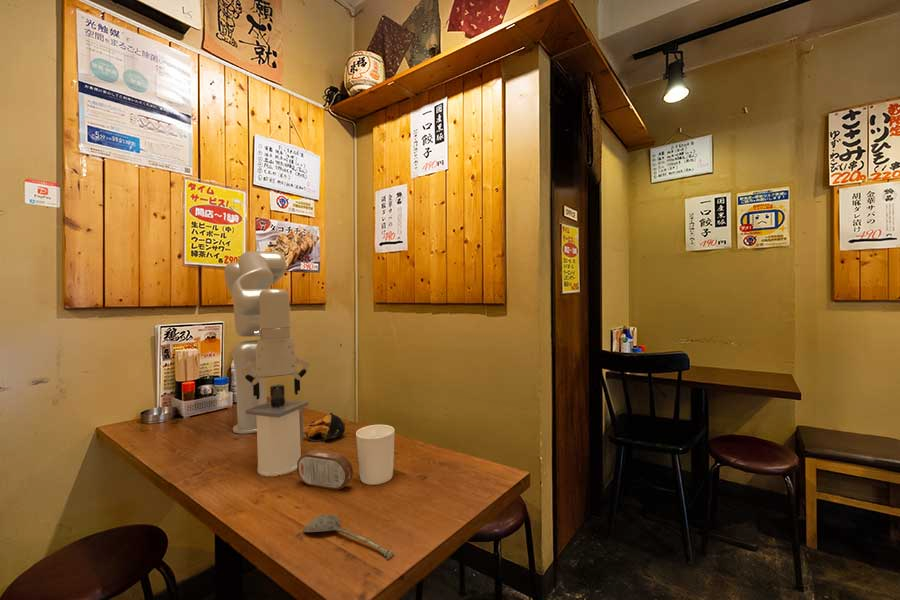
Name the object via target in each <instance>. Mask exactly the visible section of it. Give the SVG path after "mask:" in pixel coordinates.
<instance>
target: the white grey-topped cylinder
mask: <svg viewBox="0 0 900 600" xmlns="http://www.w3.org/2000/svg"><path fill="white" fill-rule="evenodd" d="M308 406H309V401H304V400H303V401H302V400H291V399H285V404H283V405H280V407H279V408H276V406H271V401H269V402H267V403H265V404H262V405H259V406H256V407H254V408H251V409H248V410H246V414H251V415H256V419H257V432H256V440H257V441H256V443H257V446H256V447H257V474H259V476H261V477H269V476H270V477H278V475H280V476H283V474H284V475H287V474H290V473H292V472H294V471H296V470H298V469H297V462H298V460H299V458H300V457H301V456H302V453H301V442H303V441H304V433H303V427H304V422H303V420H304V419H303V408H306V407H308Z"/></svg>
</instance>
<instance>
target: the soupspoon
mask: <svg viewBox="0 0 900 600" xmlns="http://www.w3.org/2000/svg"><path fill="white" fill-rule="evenodd" d="M340 524H341V523H340V518H339V516H338V515H336V514H332V513H327V514H322V515H319V516H317V517H315V518H313V519H312V520H310V521H309V522H308V523H307V524H306V525H305V526H304V527H303V529H302V533H319V532H332V531H335V532H338V533H342V534H345V535H346V536H347V535H348V536H350V537H352V538H354V539H357V540H359V541H361V542H363V543H366V544H367V545H369V546H371V547H373V548H375V549H376V551H378V552H380V553H381V554H382V555H383V556H384V558H385V559H386V561H388V560H390V558H392V557H393V555H394V550H388V549H386V548H384V547H382V545H378V544H377V543H376V542H373V541H371V540H369V538H365V537H363V536H361V535H359V534H357V533H355V532H352V531H351V530H348V529H345V528H342V527H339V526H340Z"/></svg>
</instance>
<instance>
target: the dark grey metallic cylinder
mask: <svg viewBox="0 0 900 600" xmlns="http://www.w3.org/2000/svg"><path fill="white" fill-rule="evenodd" d="M269 389H270V390H269V392H270V402H271V406H276V408H279V407H280V405H283V404H285V400H286V396H285V393H286V392H285V384H275V385H271V386H270V387H269Z"/></svg>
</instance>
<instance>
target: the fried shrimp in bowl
mask: <svg viewBox="0 0 900 600" xmlns="http://www.w3.org/2000/svg"><path fill="white" fill-rule="evenodd" d="M345 427H346V422H343V420H342V419H341V418H340V417H339V416H338V415H336V414H334V413H333V412H330V413H329V414H328V415H326V416H324V418H319V419H316V420H313V421H312V422H310V423H309V424H307V425H306V426H303V435H305V436H306V438H307V439H308V440H309V441H312V442H319V441H327V440H333V439H337V437H339V436H343V435H344V433H345V431H346V428H345Z"/></svg>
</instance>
